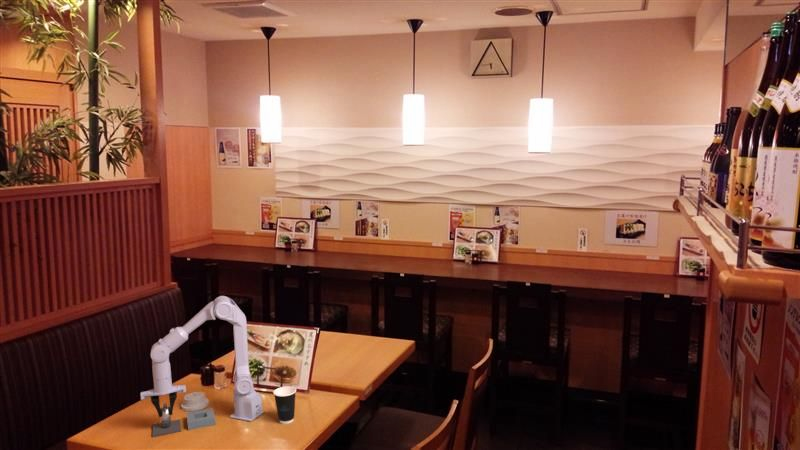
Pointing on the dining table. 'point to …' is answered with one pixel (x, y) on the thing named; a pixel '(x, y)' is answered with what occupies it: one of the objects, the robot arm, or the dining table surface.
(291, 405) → the dixie cup
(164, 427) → the key mat
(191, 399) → the mechanical component
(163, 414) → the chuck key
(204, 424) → the socket block
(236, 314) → the robot arm
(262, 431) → the dining table surface
